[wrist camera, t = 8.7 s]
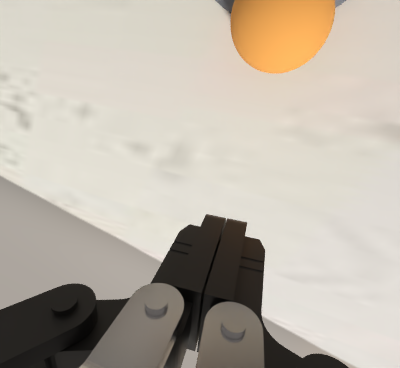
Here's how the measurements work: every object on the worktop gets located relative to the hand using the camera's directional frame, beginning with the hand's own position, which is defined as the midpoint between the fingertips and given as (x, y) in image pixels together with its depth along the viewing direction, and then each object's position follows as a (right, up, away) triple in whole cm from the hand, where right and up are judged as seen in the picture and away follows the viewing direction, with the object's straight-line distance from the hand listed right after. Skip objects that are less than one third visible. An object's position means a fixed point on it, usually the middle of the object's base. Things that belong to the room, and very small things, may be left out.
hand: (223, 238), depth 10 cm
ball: (+4, +12, +6) cm, 14 cm away
